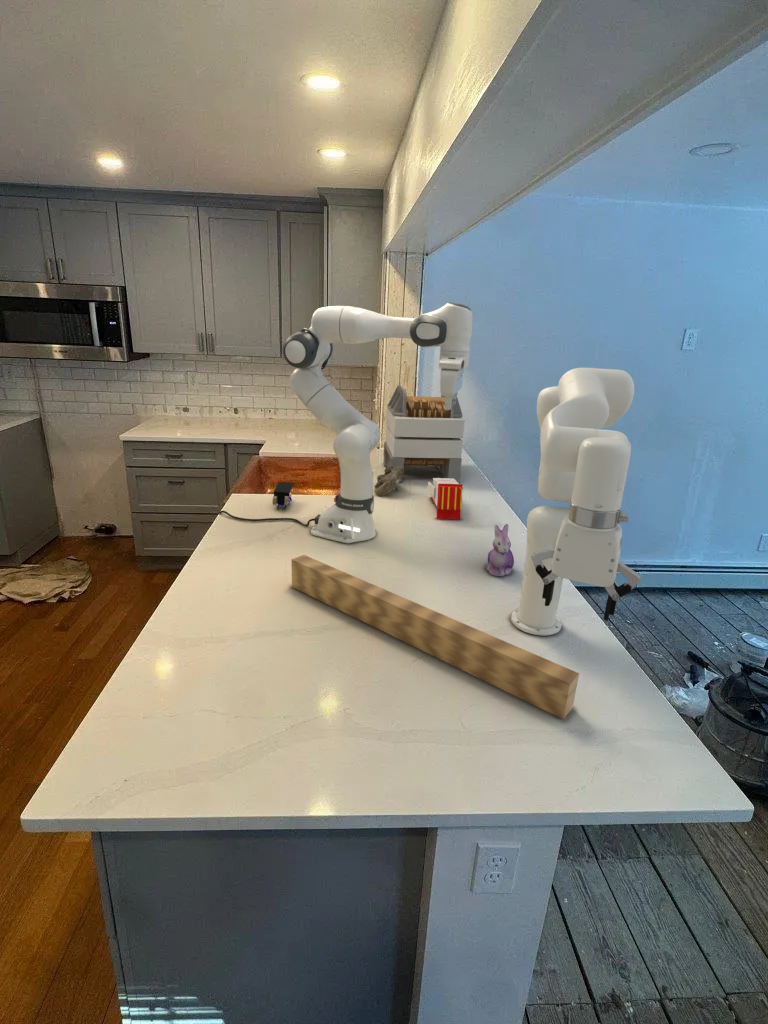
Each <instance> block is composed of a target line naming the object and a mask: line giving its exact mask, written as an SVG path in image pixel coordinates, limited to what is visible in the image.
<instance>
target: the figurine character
mask: <svg viewBox="0 0 768 1024" xmlns="http://www.w3.org/2000/svg"><path fill="white" fill-rule="evenodd" d="M293 488H294V482H288V481H287V482H286V481H278V483H277V485H276V486H275V488H274V490H273V496H272V505H273V506H276V509H277V510H278V509H279V508H280V507H283V509H284V510H286V509H287V506H289V505H290V503H291V502H292V501H293V499H292V489H293Z"/></svg>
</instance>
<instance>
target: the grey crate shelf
mask: <svg viewBox="0 0 768 1024" xmlns="http://www.w3.org/2000/svg"><path fill="white" fill-rule="evenodd" d="M407 394H408V393H407V390H406V389H404V388H403V387H402V385H399V384H398V385H397V386H396V388H395V390H394V392H393V394H392V395H391V398H390V400H389V402H388V404H387V405H386V413H385V414H386V415H385V423H386V428H385V438H384V442H383V466H384V467H393V468H395V467H396V466H400V467H402V468H403V469H405V466H406V467H407V466H411V467H412V466H413V467H415V466H416V467H417V466H418V467H436V468H437V470H438V469H439V473H440V474H441V475H443V478H454V479H455V480H456V481H457V482H458V483H459V484H460V483H461V472H462V461H463V460H462V453H463V442H464V441H463V440H462V439H463V438H464V431H465V430H464V429H465V419H464V418H463V411H462V408H461V405H460V402H459V398H458V397H457V398H456V404H455V405H451V409H450V410H445V400H444V397H445V396H442V395H441V394H440V396H415V395H414V396H413V395H412V396H411V395H407ZM402 482H403V479H402V480H401V481H399V483H402Z"/></svg>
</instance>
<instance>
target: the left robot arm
mask: <svg viewBox="0 0 768 1024" xmlns="http://www.w3.org/2000/svg"><path fill="white" fill-rule="evenodd" d="M473 317H474V316H473V311H472V309H471V308H470V307H469V306H468V305H464V304H461V303H458V302H457V303H456V302H453V301H450V302H447V303H446V304H444V305H443V306H441V307H439V308H437V309H436V310H432V311H429V312H426V313H422V314H420V315H418V316H416V317H403V316H390V315H387V314H386V315H385V314H382V313H379V312H376V311H374V310H373V311H372V310H369V309H366V308H363V307H357V306H352V305H351V306H350V305H330V306H324V307H319V308H317V309H316V310H315V311H314V312H313V314H312V317H311V321H310V327H308V328H307V327H303V328H301V329H299V330H298V331H297V332H295V333H293V334H291V335H290V336H288V338H286V340H285V341H284V343H283V345H282V356H283V359H284V360H285V361H286V363H287V364H288V365H289V366H291V367H292V368H295V369H294V370H293V371H292V373H291V375H290V377H289V384H290V387H291V388H292V390H293V392H294V393H295V395H296V396H297V398H298V399H299V401H301V403H302V404H303V405H304V406H305V408H306V409H307V410H308V411H309V412H310V413H311V415H313V416H314V418H315V419H316V420H317V421H318V422H319V423H320V424H321V425H322V426H324V427H327V428H328V429H330V430H331V431H332V432H334V433H336V436H335V438H334V439H333V443H332V446H333V448H332V449H333V451H334V454H335V455H336V457H337V462H338V466H339V473H340V488H339V489H340V490H339V491H338V492H337V494H336V495H335V496H334V497H333V502H334V504H333V505H331V506H329V507H328V508H326V509H325V510H323V512H321V514H320V513H319V514H317V515H316V516H315V517H314V518H310V519H308V520H307V523H306V524H305V523H303V522H301V521H300V520H298V519H297V518H293V517H269V518H268V517H267V518H245V517H239V516H234V515H232V514H231V513H229V512H227V511H226V510H220V511H219V512H218V515H221V514H225V515H227V516H228V517H230V518H232V519H236V520H239V521H245V522H265V521H266V522H267V521H293V522H296V523H298V524H299V525H301V526H303V527H309V525H310V523H311V522H314V525H313V526H312V528H311V530H310V533H311V536H315V537H319V538H323V539H326V540H330V541H336V542H339V543H343V544H352V543H357V542H365V541H368V540H372V539H373V538H375V537H376V535H377V532H376V528H375V523H374V513H373V512H374V509H375V496H374V472H373V470H372V466H371V465H372V464H371V460H370V458H371V457H370V455H371V452H372V451H373V450H374V449H376V448H377V446H378V445H379V442H380V440H381V436H382V435H381V434H382V432H381V429H380V427H379V425H378V424H377V423H376V422H375V421H373V420H371V419H369V418H367V417H366V416H365V415H364V414H363V413H362V412H360V411H359V410H358V409H357V408H355V407H354V406H352V404H350V403H349V402H348V401H347V400H346V399H345V398H344V396H342V394H340V393H339V391H338V390H337V389H335V387H334V385H332V383H331V382H329V380H328V379H326V377H325V376H324V374H323V372H322V370H324V369H326V366H327V364H328V362H329V360H330V358H331V357H332V354H333V352H334V344H346V345H355V344H356V345H357V344H366V343H371V342H374V341H378V340H383V339H391V338H394V339H407V340H408V339H411V340H412V342H413V343H414V344H415V345H417V346H418V347H421V348H424V349H425V348H426V349H427V348H433V347H434V348H435V347H440V350H439V362H438V368H439V369H440V373H439V374H440V375H439V376H440V380H439V381H440V382H439V384H440V385H439V387H440V389H439V390H440V396H441V395H442V396H445V397H444V400H445V410H450V409H451V405H455V404H456V398H458V395H459V394H458V392H459V391H460V390H461V389H462V387H463V377H464V373H465V369H469V367H470V357H471V346H470V344H471V339H472V336H473V324H474V323H473V322H474V321H473V320H474V319H473Z"/></svg>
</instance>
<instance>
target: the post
mask: <svg viewBox="0 0 768 1024" xmlns="http://www.w3.org/2000/svg"><path fill="white" fill-rule="evenodd" d="M291 588H294V589H296V590H297V591H300V592H301V593H304V594H306V595H308V596H310V597H312V598H314V599H316V600H318V601H320V602H322V603H325V604H326V605H328V606H330V607H333V608H335V609H337V610H338V611H340V612H343V613H344V614H347V615H349V616H351V617H353V618H355V619H357V620H359V621H361V622H363V623H365V624H368V625H369V626H371V627H373V628H375V629H377V630H379V631H381V632H384V633H386V634H388V635H389V636H391V637H393V638H395V639H398V640H400V641H402V642H404V643H406V644H408V645H410V646H412V647H414V648H416V649H419V650H420V651H423V652H424V653H427V654H428V655H431V656H432V657H435V658H437V659H439V660H441V661H443V662H445V663H447V664H449V665H450V666H453V667H454V668H457V669H459V670H461V671H463V672H466V673H468V674H469V675H471V676H474V677H475V678H477V679H480V680H482V681H484V682H486V683H488V684H490V685H492V686H494V687H496V688H499V689H500V690H502V691H505V692H506V693H508V694H510V695H512V696H514V697H517V698H519V699H520V700H523V701H524V702H527V703H528V704H531V705H533V706H535V707H537V708H539V709H541V710H543V711H544V712H547V713H548V714H551V715H553V716H555V717H557V718H559V719H561V720H564V719H566V717H567V716H568V714H570V712H571V711H572V710H573V708H574V703H575V697H576V692H577V687H578V683H579V676H580V673H579V672H576V671H575V670H573V669H571V668H568V667H565V666H563V665H561V664H559V663H557V662H554V661H552V660H549V659H547V658H545V657H543V656H540V655H538V654H536V653H533V652H531V651H529V650H526V649H525V648H522V647H519V646H516V645H514V644H512V643H510V642H507V641H505V640H503V639H500V638H498V637H496V636H494V635H492V634H489V633H486V632H484V631H482V630H479V629H477V628H475V627H472V626H470V625H468V624H466V623H464V622H461V621H459V620H456V619H454V618H452V617H450V616H447V615H445V614H443V613H440V612H438V611H435V610H433V609H431V608H428V607H426V606H425V605H421V604H419V603H417V602H414V601H412V600H410V599H408V598H405V597H403V596H401V595H398V594H396V593H393V592H392V591H389V590H387V589H384V588H382V587H380V586H378V585H375V584H373V583H370V582H369V581H366V580H364V579H361V578H359V577H356V576H354V575H352V574H350V573H347V572H345V571H343V570H340V569H338V568H336V567H333V566H331V565H329V564H327V563H324V562H322V561H320V560H317V559H315V558H312V557H310V556H308V555H306V554H301V555H298V556H297V557H294V558H292V559H291Z"/></svg>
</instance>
